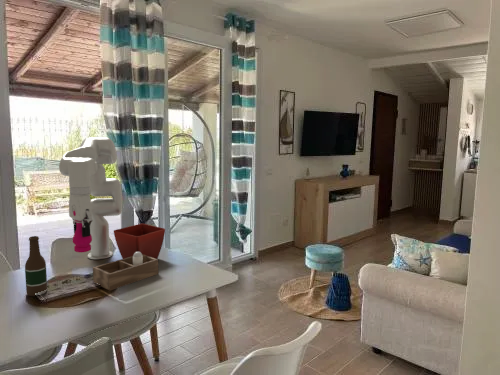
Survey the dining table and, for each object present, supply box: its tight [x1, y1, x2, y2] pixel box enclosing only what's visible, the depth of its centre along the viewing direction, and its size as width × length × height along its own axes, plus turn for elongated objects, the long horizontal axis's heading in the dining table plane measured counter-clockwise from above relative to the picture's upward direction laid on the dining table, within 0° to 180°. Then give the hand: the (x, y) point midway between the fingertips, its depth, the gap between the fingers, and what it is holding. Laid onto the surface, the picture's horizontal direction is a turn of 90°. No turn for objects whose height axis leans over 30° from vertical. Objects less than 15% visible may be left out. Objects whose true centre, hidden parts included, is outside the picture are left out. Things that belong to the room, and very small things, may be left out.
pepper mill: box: [72, 211, 92, 253], centre depth 151 cm, size 7×7×20 cm
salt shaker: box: [133, 252, 143, 266], centre depth 174 cm, size 4×4×11 cm
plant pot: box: [113, 223, 166, 259], centre depth 196 cm, size 19×19×17 cm
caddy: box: [92, 254, 159, 291], centre depth 170 cm, size 13×25×8 cm, turn 142°
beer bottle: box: [24, 235, 48, 298], centre depth 153 cm, size 8×8×24 cm
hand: (82, 234), depth 151 cm, fingers closed on pepper mill, 5 cm apart
